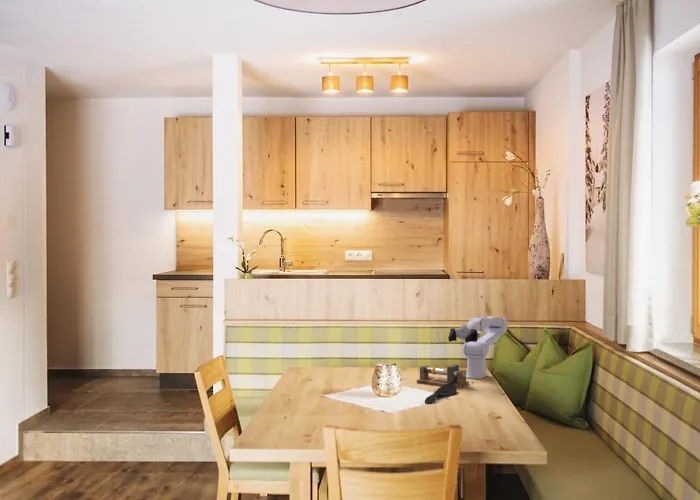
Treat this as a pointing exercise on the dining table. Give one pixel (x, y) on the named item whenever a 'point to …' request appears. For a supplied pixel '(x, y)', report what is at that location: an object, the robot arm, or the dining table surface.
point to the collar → (452, 373)
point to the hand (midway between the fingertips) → (457, 339)
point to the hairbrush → (446, 391)
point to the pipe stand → (441, 381)
